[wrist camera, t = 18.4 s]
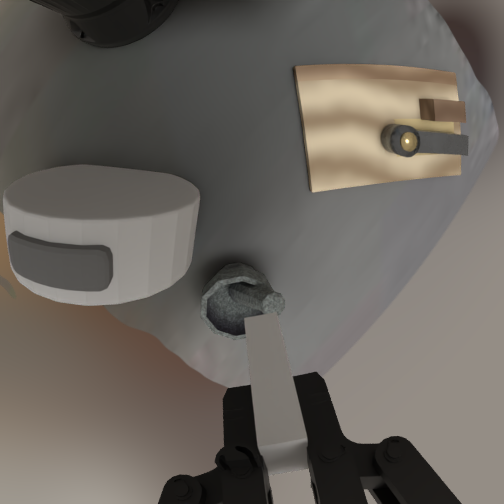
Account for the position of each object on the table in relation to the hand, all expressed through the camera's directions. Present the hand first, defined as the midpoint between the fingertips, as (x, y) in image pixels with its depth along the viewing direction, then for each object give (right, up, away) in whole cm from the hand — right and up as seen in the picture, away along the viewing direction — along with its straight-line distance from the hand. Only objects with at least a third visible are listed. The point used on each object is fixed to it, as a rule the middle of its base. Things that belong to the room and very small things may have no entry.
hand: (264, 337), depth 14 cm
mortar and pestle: (-2, 0, +29) cm, 29 cm away
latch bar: (+22, +19, +20) cm, 36 cm away
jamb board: (+18, +21, +21) cm, 35 cm away
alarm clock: (-17, +11, +23) cm, 31 cm away
